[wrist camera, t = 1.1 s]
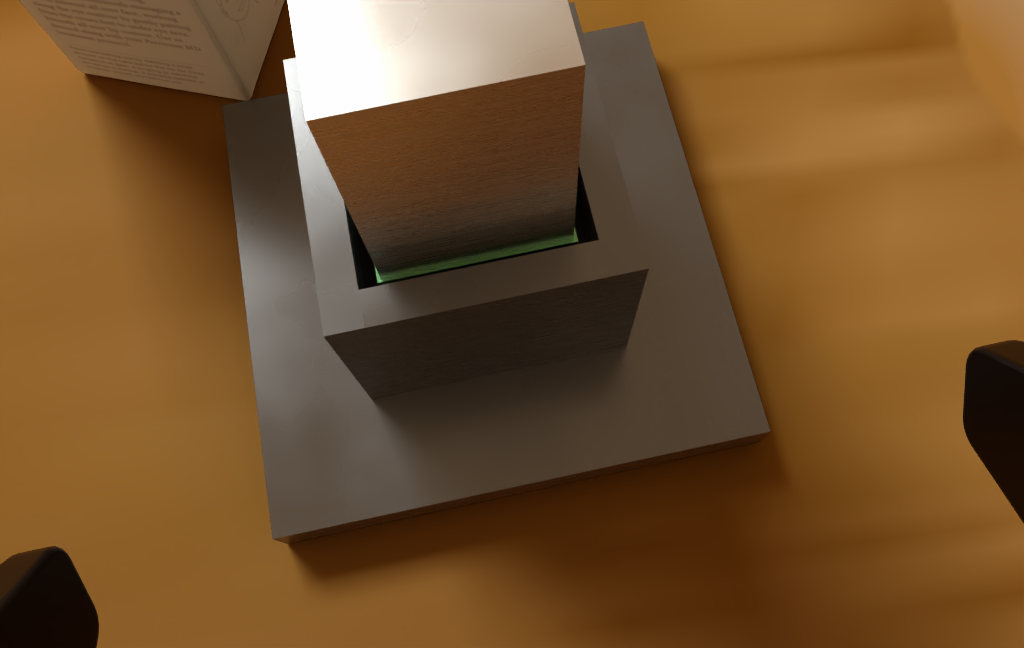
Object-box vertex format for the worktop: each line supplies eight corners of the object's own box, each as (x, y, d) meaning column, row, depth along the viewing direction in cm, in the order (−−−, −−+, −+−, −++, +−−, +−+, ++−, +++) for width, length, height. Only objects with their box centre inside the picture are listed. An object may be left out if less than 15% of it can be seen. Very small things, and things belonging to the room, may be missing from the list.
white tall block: (572, 309, 22) (593, 68, 12) (407, 344, 22) (300, 127, 12) (536, 164, 23) (529, -154, 14) (381, 196, 23) (266, -103, 14)
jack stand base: (759, 441, 22) (835, 374, 16) (286, 543, 22) (191, 512, 16) (638, 48, 26) (665, -121, 20) (236, 128, 26) (144, -19, 20)
